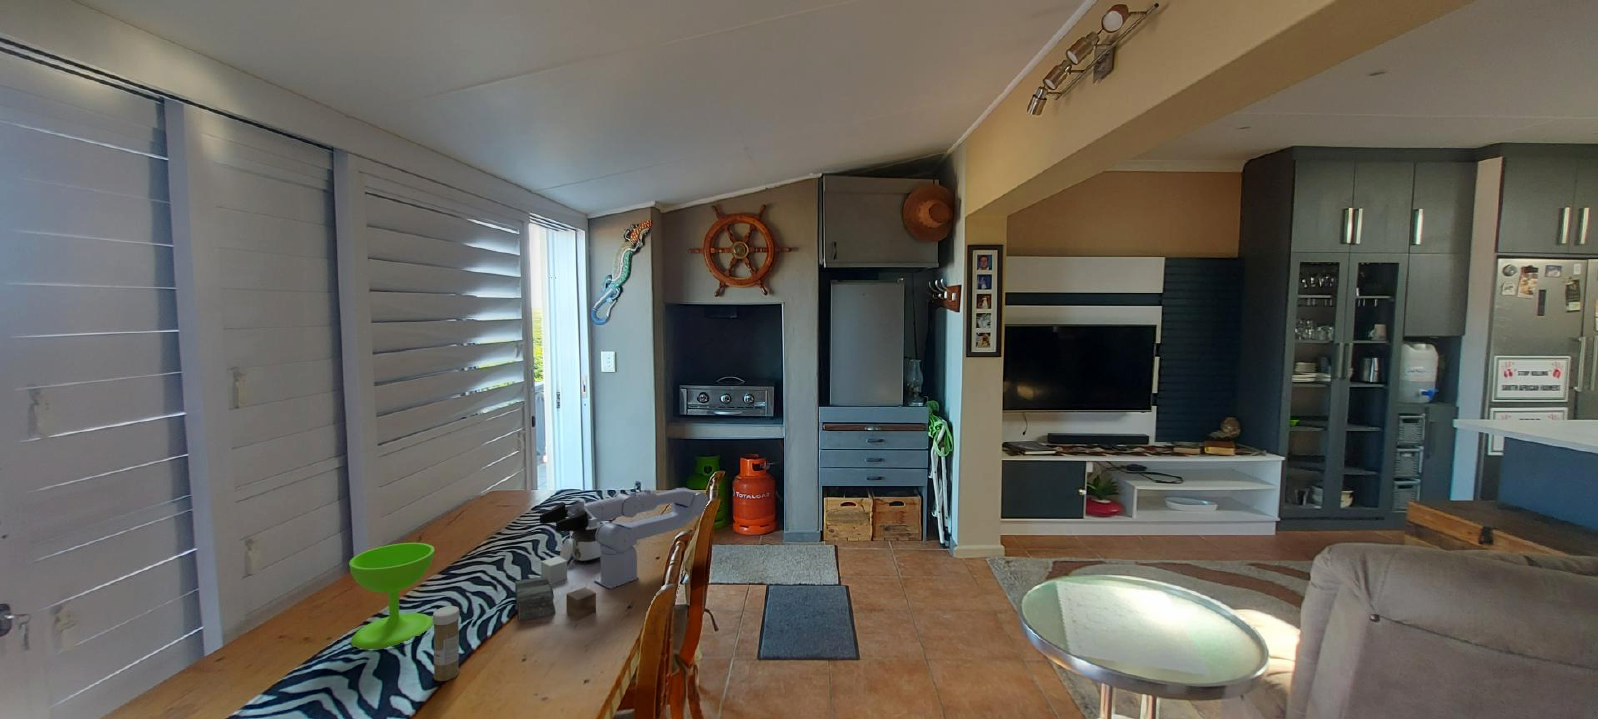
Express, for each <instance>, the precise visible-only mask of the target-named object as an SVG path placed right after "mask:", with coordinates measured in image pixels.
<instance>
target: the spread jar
mask: <svg viewBox="0 0 1598 719" xmlns="http://www.w3.org/2000/svg"><path fill="white" fill-rule="evenodd" d="M600 525H601V522H598V523H597V526H596V527H592V528H590V527H588V526H587V527H586V533H580V532H574V531H572V533H571V538H566V539H565V540H564V542H563V543H562V546H561V550H560V554H559V557H560V558H562V559H564V560H567V563H569V560H570V559H571V556H572V558H573V559H574V560H575V561H576V562H577V563H579V564H583V565H584V564H593V563H597V562H599V561H601V549H600V544H599V543H598V542H597V541H596V538H595V535H596V531H597V529H598V527H599V526H600Z"/></svg>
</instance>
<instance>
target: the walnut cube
mask: <svg viewBox="0 0 1598 719" xmlns="http://www.w3.org/2000/svg"><path fill="white" fill-rule="evenodd" d="M565 609H566V611H565V612H566V614H567V615H569V616H570V617H571V618H574V619H575V620H577V621H578V620H581V619H583V618H586V617H588V616H591V615H593V614H597V593H596V592H595V591H593V590H591V589H589V588H587V587H582V588H579V589H576V590H573V591H571V592H568V593H566V608H565Z"/></svg>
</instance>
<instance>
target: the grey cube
mask: <svg viewBox="0 0 1598 719" xmlns="http://www.w3.org/2000/svg"><path fill="white" fill-rule="evenodd" d="M546 576H547V578H548V581H549V584H550V585H551V584H554V583H557V582H559V581H562V580H566V579H568V562H567V560H564V559H562V558H560V556H554V557H552V558H551V557H550V558H547V559H545V560H541V561H540V577H546Z"/></svg>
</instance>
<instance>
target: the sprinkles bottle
mask: <svg viewBox="0 0 1598 719" xmlns="http://www.w3.org/2000/svg"><path fill="white" fill-rule="evenodd" d="M432 619H433V623H434V629H433V634H434V636H433V670H434V671H433V679H434V681H438V682H445V681H449V680H452V679H454V678H455V677H457V676H458V675H459V673H460V668H459V657H460V632H459V620H460V609H459V607H458V606H454V605H451V606H443V607H441V608H438V609H436V610H435V611H434V612H433V614H432Z"/></svg>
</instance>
